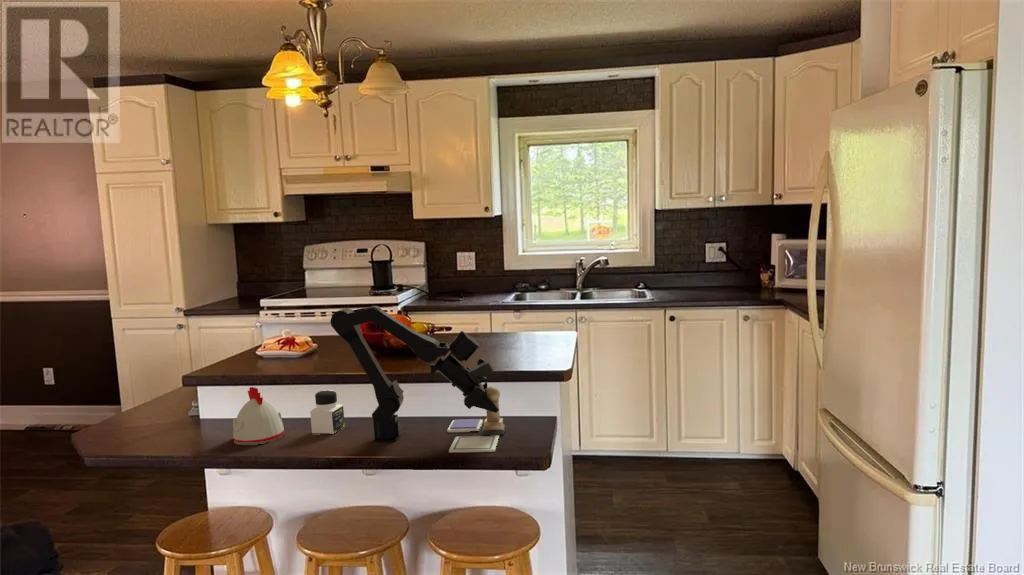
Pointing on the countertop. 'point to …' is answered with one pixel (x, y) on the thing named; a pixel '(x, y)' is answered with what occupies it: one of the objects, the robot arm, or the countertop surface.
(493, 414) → the hand stamp
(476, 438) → the marked board
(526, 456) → the countertop surface
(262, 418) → the kitchen timer
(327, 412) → the medicine bottle
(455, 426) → the ink pad
